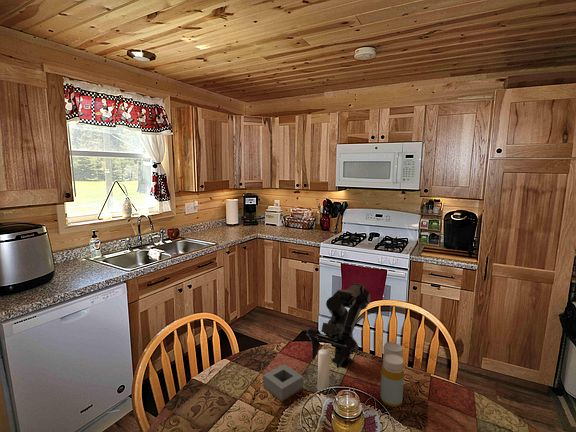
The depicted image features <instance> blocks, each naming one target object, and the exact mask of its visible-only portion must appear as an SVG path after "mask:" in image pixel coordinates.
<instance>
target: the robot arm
mask: <svg viewBox="0 0 576 432" xmlns="http://www.w3.org/2000/svg"><path fill="white" fill-rule="evenodd" d="M370 303H371V294H370V291H368V289H366V288H365V285H364V284H361V283H352V284H351V285H350V286H349V287H348V288H345V289H338V290H336V292H335V293H334V294H333V295H331V297H329V298H328V299H327V300H326V303H325V304H326V305H325V306H326V308H327V309H328V312H329V313H330V314H331V316H330V319H328V320H327V321H328V322H323V323H322V325H321V331H319V329H316V328H312V327H310V328H308V329H307V330H306V333H305V334H306V336H307V337H308V338H309V340H310V342H311V346H312V347H311V348H312V350H311V351H312V352H311V354H312V355H311V356H312V361H315V359H316V356H318V355H317V354H318V351H319V348H320V345H321V342H320V341H325V342H328V343H330V346H331V347H332V348H334V357H333V358H331V362H333V363H335V364H336V368H337V369H339V368H340V367H342V368H346V367H347V366H349V365H351V364H352V363H354V360H353V359H352V358H351V355H354V354H358V353H359V344H358V343H357V341H356V340H355V339H354V334H353V331H354V328H355V326H356V323H357V321H358V318H359V316H360V314H361V311H364V310H366V309H367V307H368V306H369V305H370ZM347 308H349V309H347ZM321 332H322V333H321Z"/></svg>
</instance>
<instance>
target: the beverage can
mask: <svg viewBox="0 0 576 432" xmlns="http://www.w3.org/2000/svg"><path fill="white" fill-rule="evenodd" d="M382 351H383V353H382V354H383V355H382V367H381V368H382V369H383V366H384V356H385V355H387V354H395V355H398V356H400V357H401V358H402V359H403V360H404V358H403V357H404V356H403V355H404V349H403V346H402V345H401V344H399V343H396V342H392V341H388V342H385V343H384V346H383V350H382ZM382 369H381V370H382Z"/></svg>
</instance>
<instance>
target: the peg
mask: <svg viewBox="0 0 576 432" xmlns="http://www.w3.org/2000/svg"><path fill="white" fill-rule="evenodd" d="M317 354H318V355H317V356H318V357H317V382H316V385H317V387H316V390H317V392H319V391H321V390H324V389H327V388H329V389H330V365H331V363H330V360H331V351H329V349H325V348H322V349H321V348H320V349H318V352H317Z"/></svg>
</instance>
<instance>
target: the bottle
mask: <svg viewBox="0 0 576 432" xmlns="http://www.w3.org/2000/svg"><path fill="white" fill-rule="evenodd" d="M404 364H405V363H404V358H403V359H402V358H401V357H400V356H398V355H395V354H387V355H385V356H384V366H383V365H382V367H383V369H381V381H380V399H381V401H382V402H383V404H385V405H386V406H389V407H392V408H396V407H399V406H401V405H402V404H403V398H404V395H403V394H404V385H405V373H404Z"/></svg>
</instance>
